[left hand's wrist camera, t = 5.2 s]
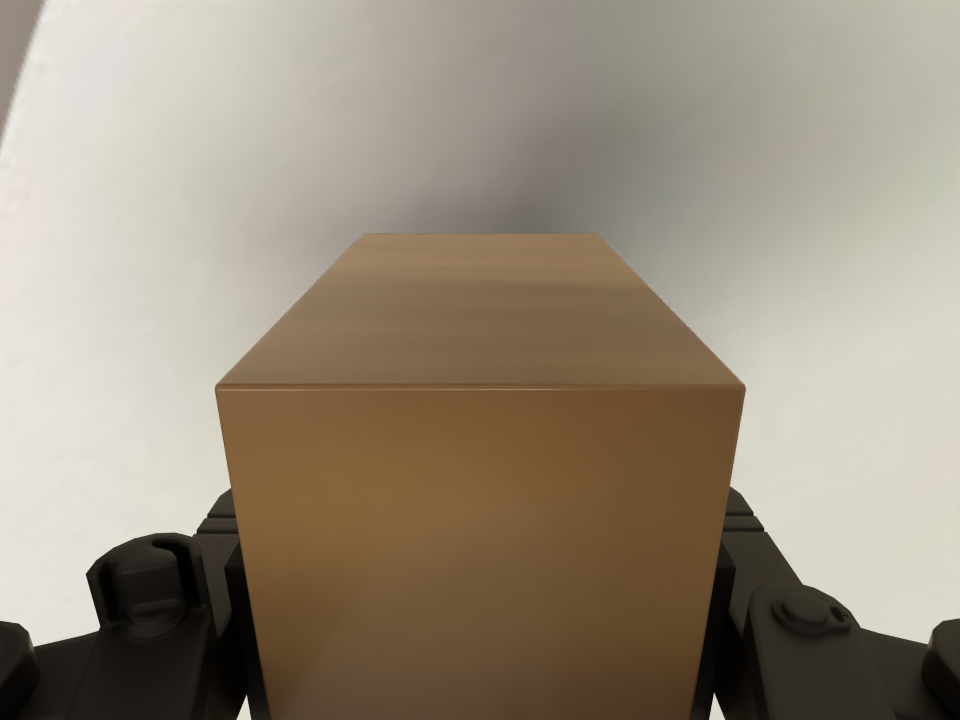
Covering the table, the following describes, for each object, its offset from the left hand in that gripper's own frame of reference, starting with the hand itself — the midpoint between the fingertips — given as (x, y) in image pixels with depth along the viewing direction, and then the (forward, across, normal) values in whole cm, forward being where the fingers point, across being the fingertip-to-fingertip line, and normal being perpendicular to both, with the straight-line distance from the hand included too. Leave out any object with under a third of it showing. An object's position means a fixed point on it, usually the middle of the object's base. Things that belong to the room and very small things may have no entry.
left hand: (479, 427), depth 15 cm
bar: (+1, 0, -8) cm, 9 cm away
